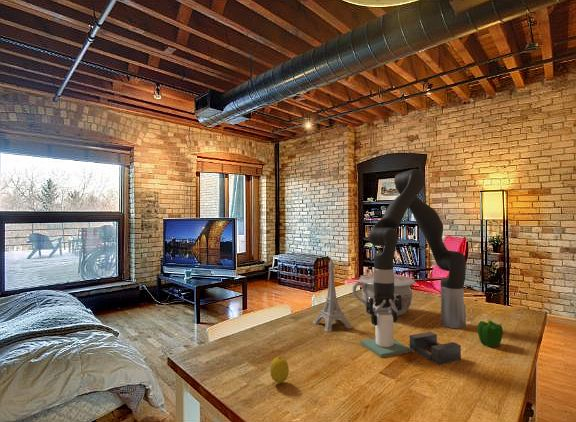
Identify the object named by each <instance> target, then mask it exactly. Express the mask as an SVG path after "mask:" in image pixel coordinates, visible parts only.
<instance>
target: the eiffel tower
mask: <svg viewBox="0 0 576 422" xmlns="http://www.w3.org/2000/svg"><path fill="white" fill-rule="evenodd" d="M328 268H329V270H328V271H329V272H328V274H329V276H328V287H327V288H328V289H327V295H326V297H325V299H326V301H325V303H324V305H323V308H322V309H320V310H319V311H320V313H319V314H318V315H317V316H316V317H315V319H314V320H313V321H312V324H314V325H319V324H320V325H321V323H320V322H321V320H323V318H324V320H325V326H324V329H323V330H324V331H325V332H326V333H330V332H333V330H332V326H333V322H336V321H340V320H341V321H342V323H343V324H344V328H347V329H352V328H353V326H352V324H351V323H350V322H349V320H348V319H347V318H346V316H345V315H344V314H345V312H344V311H342V309H341V307H340V305H339V302H338V300H339V298H337V292H336V285H335V274H334V273H335V272H334V270H335V269H334V268H335V262H334V261H333V258H332V259H331V258H330V260H329V262H328Z"/></svg>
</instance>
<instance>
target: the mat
mask: <svg viewBox="0 0 576 422" xmlns="http://www.w3.org/2000/svg"><path fill="white" fill-rule="evenodd" d="M359 344H360V345H362V346H363V347H365V348H366V349H368V350H369V351H370V352H372V353H373V354H374V355H376V356H378V357H379V358H386V357H391V356H395V355H396V356H397V355H401V354H406V353H411V352H412V350H411V348H410V346H407V345H405V344H403V343H402V342H400V341H398V340H396V339H394V345H393V346H392V347H388V348H386V347H380V346H378V345H377V344H376V337H374V338H368V339H362V340H360V341H359Z"/></svg>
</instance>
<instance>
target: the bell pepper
mask: <svg viewBox="0 0 576 422" xmlns="http://www.w3.org/2000/svg"><path fill="white" fill-rule="evenodd" d="M476 328H477V335H478V339H479V342H480V343H481V344H483V345H485V346H487V347H491V348H496V347H498V346H499V345H500V344H501V342H502V339H503V333H504V331H503V329H504V328H503V327H502V324H499V323H495V322H494V321H493V320H491V319H487V322H486V321H484V320H483V321H482V320H481V321H479V322H478V324H477V326H476Z"/></svg>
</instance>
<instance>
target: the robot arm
mask: <svg viewBox="0 0 576 422" xmlns="http://www.w3.org/2000/svg"><path fill="white" fill-rule="evenodd" d="M393 182H394V186H395V189H396V190H397V191H398V195H397V197H396V198H394V199H393V200H392V201H391V202H390V204H389V205H388V206H387V207H386V210H385V211H384V214H383V216H382V217H381V218H380V219H379V220H378V221H377V222H376V223H375V224H374V225H373V226H372V227H371V229H370V231H369V234H368V241H369V242H370V244H372V245H373V246H379V247H384V249H383V251H379V252H378V251H377V252H375V253H374V255H373V274H374V294H375V295H374V297H367V304H366V306H365V311H366V313H367V314H368V315H370V316H371V317H370V318H371V319H370V320H371V323H372V325H373V326H376V325H377V313H378V312H379V311H380V310H381V308H385V307H387V308H389V307H390V309H391V310H392V311H391V312H392V316H393V324H394V323H397V321H398V316H397V312H398V311H399V310H402V304H401V295H399V294H396V293H395V294H394V275H395V271H394V257H395V253H396V252H395V251H396V248H397V245H398V241H399V235H398V232H397V230H396V229H398V228H399V226H400V225H401V223H402V221H403V219H404V217H405V214H406V213H407V212H408V211H407V210H408V209H409V211H410V212H411V214H412V216H413V217H414V220H415V222H416V223H417V225H418V228H419V230H420V231H421V233H422V234H423V237H424V238H425V240H426V242H427V244H428V246H429V248H430V251H431V253H432V256H433V258H434V262H435V263H436V265H437V267H438V268H439V269H440V270H443V271H446V272H448V277H446V278H442V279H441V280H440V323H441V325H442V326H443V327H447V328H450V329H463V328H464V327H466V326H467V317H466V316H467V313H466V304H465V301H464V300H465V299H464V298H465V297H464V296H465V295H464V293H465V292H464V290H465V289H464V285H465V281H466V270H467V269H466V267H467V262H466V257H465V255H464V254H463V253H462V252H460V251H454V250H448V248H447V247H446V245H445V243H444V241H443V234H444V224H443V221H442V219H441V217H440V216H439V214H438V212H437V211H436V210H435V209H434V208H433V207H431V205H428V204H427V203H426V202H424V201H423V200H421V199H420V198H419V197H418V195H419V194H420V193H421V191H422V190H423V188H424V186H425V184H426V177H425V174H424V173H423V172H422V170H420V169H418V168H413V169H410V170H406V171H402V172H400V173H397V174H396V175H395V176H394V180H393ZM393 300H395V305H394V303H393ZM374 301H375V303H374ZM373 303H374V305H373ZM377 305H378V307H377Z"/></svg>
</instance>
